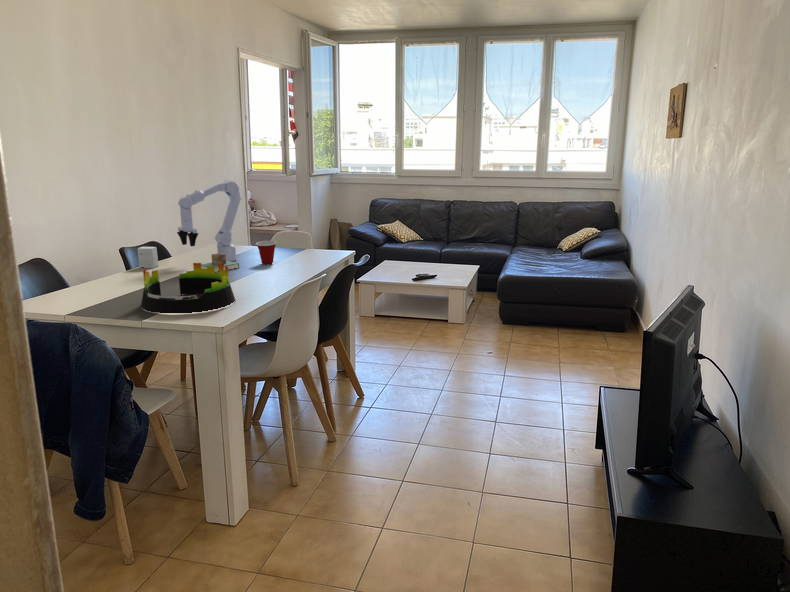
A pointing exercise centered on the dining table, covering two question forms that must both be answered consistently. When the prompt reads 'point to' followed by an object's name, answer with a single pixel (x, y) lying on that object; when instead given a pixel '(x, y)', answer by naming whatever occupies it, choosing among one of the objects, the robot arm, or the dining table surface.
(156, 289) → the decorative container
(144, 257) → the small box
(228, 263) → the book
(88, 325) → the dining table surface
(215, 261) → the walnut block
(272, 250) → the plastic cup
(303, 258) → the dining table surface
